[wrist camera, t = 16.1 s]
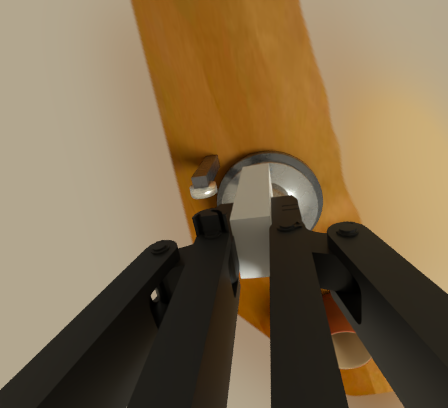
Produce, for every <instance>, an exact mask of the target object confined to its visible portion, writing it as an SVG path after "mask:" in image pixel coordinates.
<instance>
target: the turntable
mask: <svg viewBox="0 0 448 408" xmlns="http://www.w3.org/2000/svg"><path fill="white" fill-rule="evenodd" d="M266 163H269V170H270V177H271V183H275V184H277V185H280V186H281V187H282V188H284V189H285V190H286V191H287V193H288V194H289V195H293V196H294V197H295V198H297V200H298V205H299V209H300V213H301V217H302V221H303V223H304V224H305V226H306V228H307V229H309V230H311V228H312V227H313V225H314V223H315V220H316V217H317V213H318V200H317V196H316V193H315V190H314V188H313V185H312V184H311V182H310V180H309V179H308V178H307V177H306V175H305V174H304V173H302V172H301V171H300V170H299V169H297V168H296V167H294V166H292V165H290V164H287V163H284V162H280V161H271V160H269V161H260V162H256V163H252V164H250V165H248V166H252V165H259V164H266ZM241 171H242V169H241V170H239V171H238V172H237V173H236V174H235V175H234V176H233V177H232V178H231V180H230V181H229V182H228V184H227V186H226V188H225V191H224V194H223V197H222V204H225V203H234V200H235V196H236V192H237V188H238V184H239V179H240V175H241Z"/></svg>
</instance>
